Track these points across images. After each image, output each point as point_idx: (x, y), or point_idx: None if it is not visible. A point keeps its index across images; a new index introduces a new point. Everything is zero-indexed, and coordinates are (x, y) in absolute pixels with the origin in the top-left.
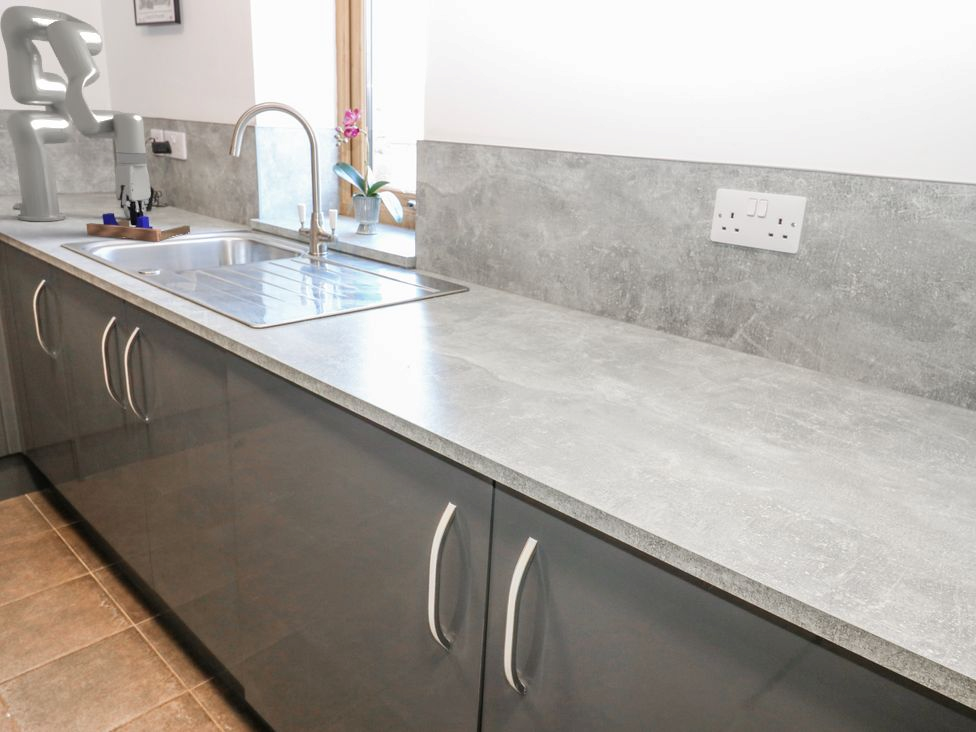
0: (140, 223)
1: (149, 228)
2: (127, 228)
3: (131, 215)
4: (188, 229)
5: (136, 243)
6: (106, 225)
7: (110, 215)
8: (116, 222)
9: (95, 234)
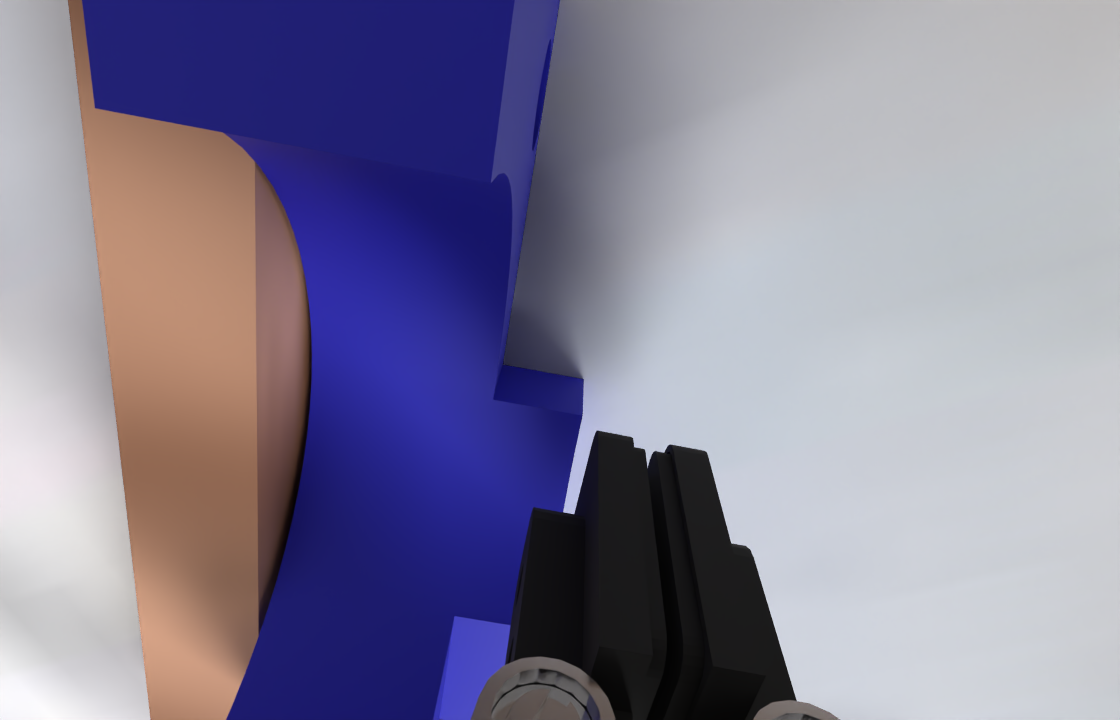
0: None
1: (443, 701)
2: (137, 533)
3: (519, 616)
4: None
5: (14, 600)
6: None
7: (286, 136)
8: (484, 196)
9: None
